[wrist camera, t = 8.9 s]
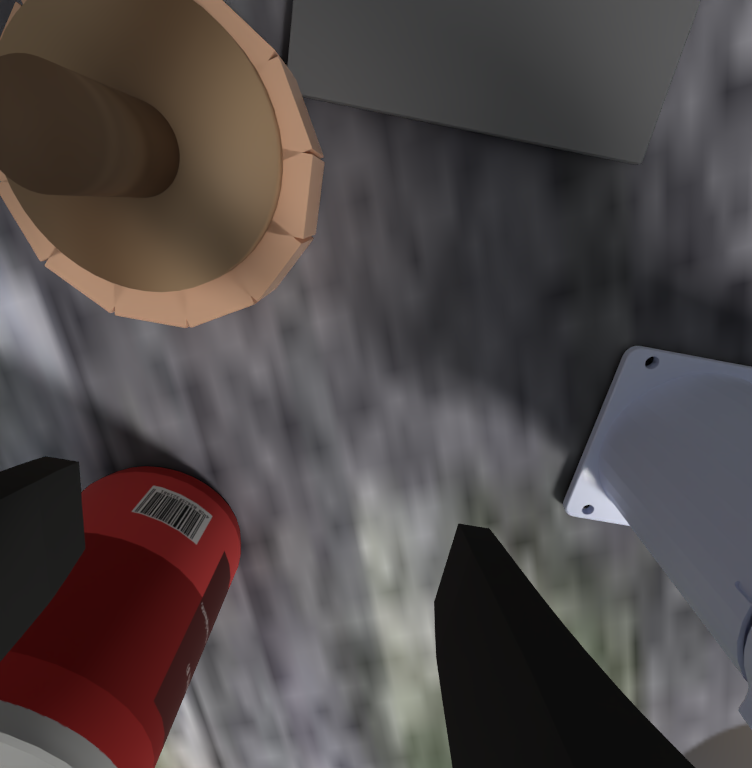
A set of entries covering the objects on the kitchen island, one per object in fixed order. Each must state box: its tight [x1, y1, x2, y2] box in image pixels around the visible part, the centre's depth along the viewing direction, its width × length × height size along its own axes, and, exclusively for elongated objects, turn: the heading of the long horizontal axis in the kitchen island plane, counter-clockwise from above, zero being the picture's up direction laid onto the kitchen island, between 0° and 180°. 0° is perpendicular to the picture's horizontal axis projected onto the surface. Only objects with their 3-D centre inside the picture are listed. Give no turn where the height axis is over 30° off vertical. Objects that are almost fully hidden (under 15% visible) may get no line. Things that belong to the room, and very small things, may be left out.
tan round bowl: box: [0, 0, 325, 328], centre depth 14 cm, size 9×9×3 cm
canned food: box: [0, 466, 241, 768], centre depth 17 cm, size 8×8×11 cm
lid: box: [0, 0, 283, 292], centre depth 11 cm, size 8×8×4 cm
